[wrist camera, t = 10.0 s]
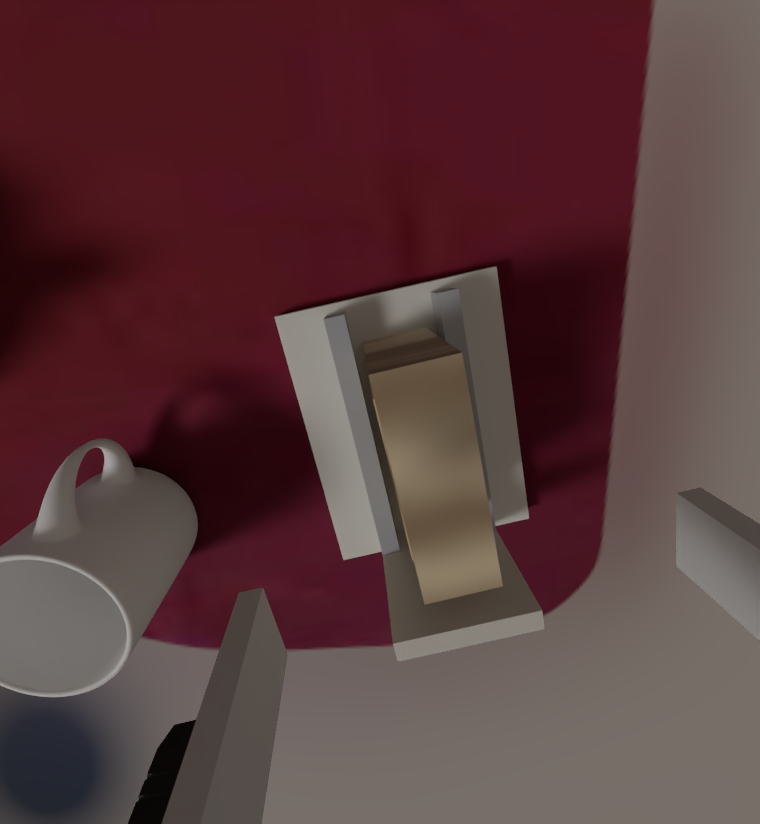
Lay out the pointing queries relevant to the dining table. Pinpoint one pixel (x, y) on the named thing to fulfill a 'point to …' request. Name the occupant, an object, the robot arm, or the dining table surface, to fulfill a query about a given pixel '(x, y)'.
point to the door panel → (434, 461)
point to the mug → (89, 573)
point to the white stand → (367, 461)
